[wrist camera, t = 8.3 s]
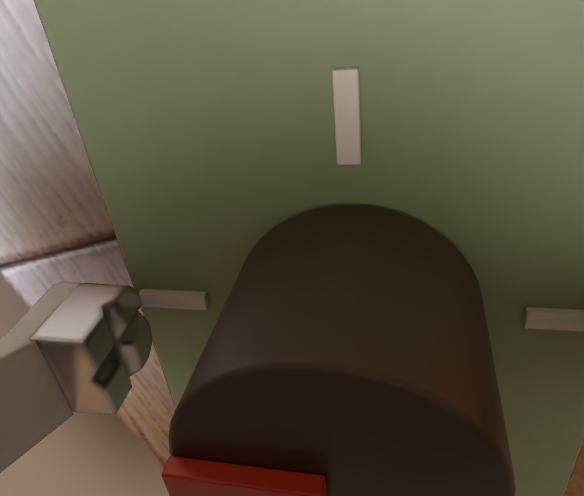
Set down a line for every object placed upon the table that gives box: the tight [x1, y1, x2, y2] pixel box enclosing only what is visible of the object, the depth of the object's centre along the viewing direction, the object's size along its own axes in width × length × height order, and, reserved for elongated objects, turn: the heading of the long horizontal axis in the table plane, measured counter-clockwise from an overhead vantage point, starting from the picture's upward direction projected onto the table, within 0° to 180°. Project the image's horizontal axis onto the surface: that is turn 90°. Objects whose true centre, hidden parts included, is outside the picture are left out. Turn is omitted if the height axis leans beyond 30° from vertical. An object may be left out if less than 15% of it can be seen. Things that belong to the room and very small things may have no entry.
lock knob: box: [162, 205, 516, 496], centre depth 8 cm, size 4×4×4 cm
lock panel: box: [34, 0, 584, 496], centre depth 10 cm, size 14×9×3 cm, turn 6°
